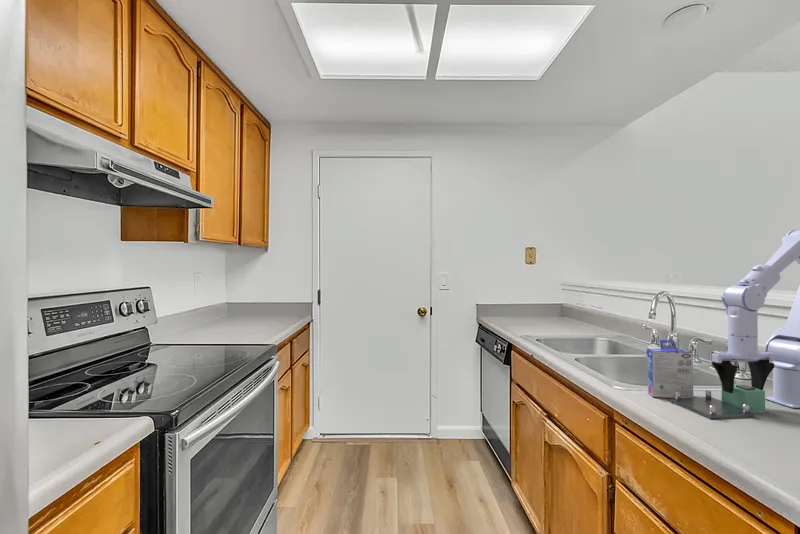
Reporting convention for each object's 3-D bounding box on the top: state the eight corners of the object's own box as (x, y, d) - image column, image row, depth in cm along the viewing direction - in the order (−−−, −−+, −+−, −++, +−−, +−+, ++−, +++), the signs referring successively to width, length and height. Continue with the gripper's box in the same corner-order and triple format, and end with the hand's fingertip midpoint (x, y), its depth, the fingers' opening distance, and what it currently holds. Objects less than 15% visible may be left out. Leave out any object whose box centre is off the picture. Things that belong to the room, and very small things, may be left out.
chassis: (710, 399, 116) (710, 389, 116) (755, 417, 103) (755, 405, 103) (670, 401, 115) (670, 391, 115) (710, 419, 102) (710, 407, 102)
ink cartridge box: (686, 393, 122) (685, 339, 122) (695, 399, 117) (694, 343, 117) (646, 392, 124) (645, 339, 124) (653, 397, 119) (652, 342, 119)
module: (740, 403, 114) (740, 381, 114) (765, 412, 107) (765, 389, 107) (721, 404, 113) (721, 382, 113) (745, 413, 106) (745, 390, 106)
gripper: (728, 338, 105) (728, 397, 105) (785, 337, 107) (785, 395, 107) (705, 334, 112) (705, 389, 112) (759, 332, 114) (759, 387, 114)
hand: (742, 391), depth 110 cm, fingers open, 7 cm apart
